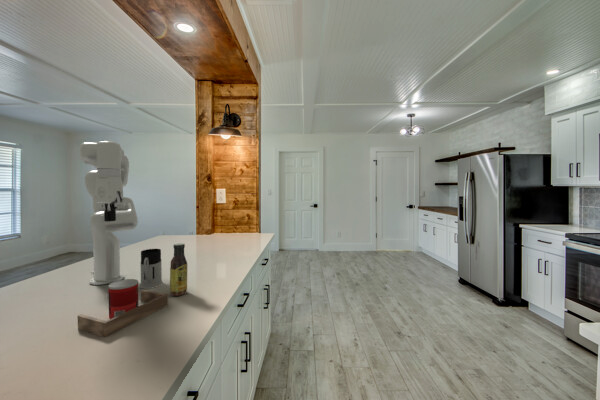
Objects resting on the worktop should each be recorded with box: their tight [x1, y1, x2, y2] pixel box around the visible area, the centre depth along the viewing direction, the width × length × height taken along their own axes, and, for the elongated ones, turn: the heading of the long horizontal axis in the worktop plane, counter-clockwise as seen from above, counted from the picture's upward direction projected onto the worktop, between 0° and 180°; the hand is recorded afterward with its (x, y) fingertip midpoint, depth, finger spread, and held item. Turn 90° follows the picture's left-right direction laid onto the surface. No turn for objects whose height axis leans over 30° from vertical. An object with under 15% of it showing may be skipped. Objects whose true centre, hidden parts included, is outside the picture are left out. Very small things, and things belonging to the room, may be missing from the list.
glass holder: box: [139, 248, 164, 289], centre depth 107 cm, size 9×14×15 cm, turn 18°
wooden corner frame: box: [77, 289, 169, 338], centre depth 82 cm, size 12×21×4 cm, turn 160°
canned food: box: [107, 278, 139, 320], centre depth 82 cm, size 8×8×11 cm
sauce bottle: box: [169, 242, 188, 297], centre depth 100 cm, size 6×6×20 cm
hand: (110, 221), depth 98 cm, fingers closed
